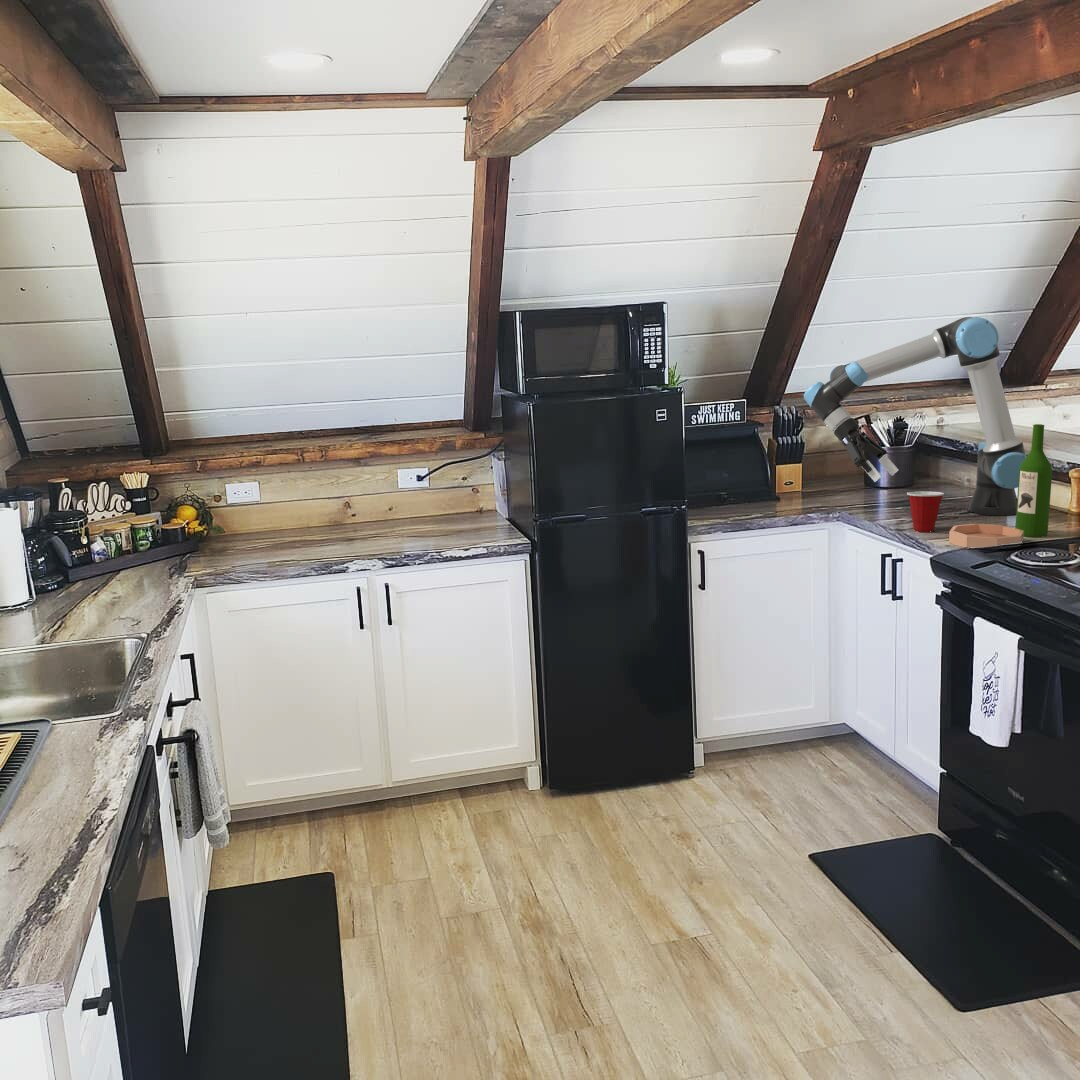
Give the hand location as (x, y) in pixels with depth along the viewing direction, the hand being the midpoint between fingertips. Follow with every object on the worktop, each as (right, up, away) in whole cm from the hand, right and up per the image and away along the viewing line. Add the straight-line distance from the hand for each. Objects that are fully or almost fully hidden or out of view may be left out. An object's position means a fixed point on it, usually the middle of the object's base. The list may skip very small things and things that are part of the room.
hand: (887, 476), depth 345 cm
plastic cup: (+10, -17, -4) cm, 20 cm away
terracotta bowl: (+22, -20, -22) cm, 37 cm away
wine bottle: (+39, -18, -13) cm, 45 cm away
